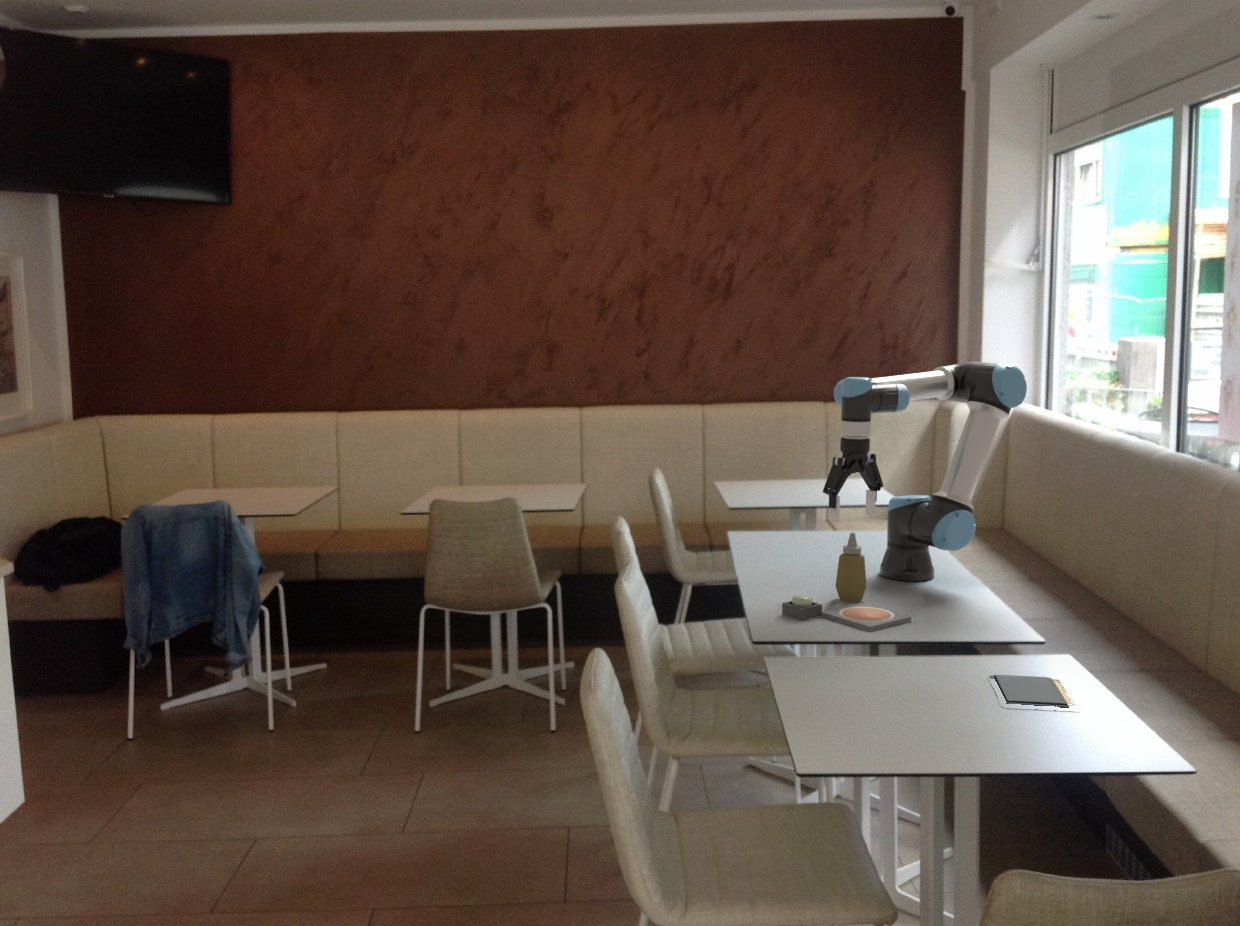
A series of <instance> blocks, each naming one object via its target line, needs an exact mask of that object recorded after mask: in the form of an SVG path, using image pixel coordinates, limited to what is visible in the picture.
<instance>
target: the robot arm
mask: <svg viewBox="0 0 1240 926" xmlns="http://www.w3.org/2000/svg"><path fill="white" fill-rule="evenodd" d="M1025 378H1026V377H1025V374H1024V373H1023V371H1022V370H1021V369H1020V368H1019V367H1017V366H1016V365H1013V364H1007V363H1005V362H1000V363H999V362H995V363H994V362H987V361H965V362H960V363H954V364H949V365H944V366H938V367H935V368H934V369H933V370H931V371H923V372H915V373H914V372H913V373H905V374H897V375H889V376H880V377H872V378H870V377H864V376H862V377H861V376H848V377H845V378H844V379H841V380H840V381H838V382H837V383H836V385H835V386H834V389H833V398H834V400H835V401H834V402H835V403H836V404H837V405H838V406H840V407H841V414H840V415H841V416H840V417H841V418H840V419H841V421H840V435H841V437H840V441H839V444H840V446H839V450H840V452H841V453H842V455H841V457H839V456H834V457H833V458H832V463H831V467H830V470H829V473H828V476H827V478H826V481H825V484H824V486H823V489H822V493H823V494H825V495H828V508H829V517H828V519H829V520H830V521H832V522H839V521H840V511H841V510H840V507H841V506H840V505H841V496H840V495H839V494H840V491H841V490H842V488H843V487H844V485H845V483H846V481H847V479H848V478H849V476H851V475H852V474H856V473H859V475H860V476H861V478H862V479H863V481H864V483H865V484H866V486H867V488H868V489H865V511H864V514H865V515H869V516H876V503H877V501H878V500H877V498H878V496H877V495H878V492H880V491H881V489H882V488H883V487H884V483H883V479H882V477H881V473H880V470H879V467H878V464H877V455H876V454H875V453H869V452H870V447H871V446H870V445H871V439H870V438H869V437H870V436H871V426H872V425H871V424H872V421H871V420H872V419H871V418H872V414H876V413H877V414H880V413H882V414H883V413H898V412H903V411H906V409H907V408H908V406H909V405H910V402H912V401H919V400H921V401H922V400H926V399H927V400H928V399H935V398H936V399H937V400H940V401H948V400H951V401H952V400H953V401H961V402H966V405H967V407H968V409H969V413H968V414H967V415H968V416H967V418H966V420H965V423H964V425H963V428H962V431H961V434H960V436H959V438H958V442H957V444H956V448H955V450H954V452H953V454H952V455H953V456H952V458H951V459H950V460H951V461H950V463H949V466H948V469H947V471H946V474H945V476H944V479H943V482H942V485H941V487H940V490H939V491H937V492H935V493H933V494H932V496H930V495H925V494H914V495H913V494H911V495H910V494H909V495H900V496H899V495H898V496H894V497H892V498H890V500H889V501H888V509H887V533H886V538H887V540H886V549H885V553H884V554H883V558H882V561H881V563H880V566H879V574H880V576H881V577H884V578H887V579H890V580H896V581H901V582H902V581H903V582H922V581H929V580H931V579H934V577H935V567H934V565H933V562H932V557H931V554H930V549H929V548H930V547H933V548H936V549H939V550H942V551H950V552H956V551H960V550H962V549H964V548H965V547H967V546H968V545H969V544H970V543H971V541H972V539H973V538H974V536H975V534H976V529H977V528H976V527H977V525H976V518H975V517H974V515H973V512H974V506H973V504H972V502H971V501H972V498H973V496H974V493H975V490H976V487H977V484H978V482H979V480H980V477H981V475H982V472H983V468H984V466H985V464H986V461H987V458H988V455H989V452H990V450H991V447H992V445H993V442H994V439H995V437H996V433H997V431H998V427H999V426H1000V423H1001V421H1003V420H1005V419H1007V418H1009V416H1010V412H1011V410H1012V409H1014V408H1017V407H1019V406H1020V405H1021V404H1022V403H1023V402H1024V401H1025V398H1026V396H1027V395H1026V394H1027V389H1028V385H1027V384H1028V383H1027V380H1026V379H1025ZM929 546H930V547H929Z"/></svg>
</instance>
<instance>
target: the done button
mask: <svg viewBox="0 0 1240 926" xmlns="http://www.w3.org/2000/svg"><path fill="white" fill-rule="evenodd" d="M791 597H792V598H791V599H792V600H791V601H792V605H795V606H798V607H801V608H804V607H808V606H812V602H813V596H811V595H807V594H796V595H792V596H791Z"/></svg>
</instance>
